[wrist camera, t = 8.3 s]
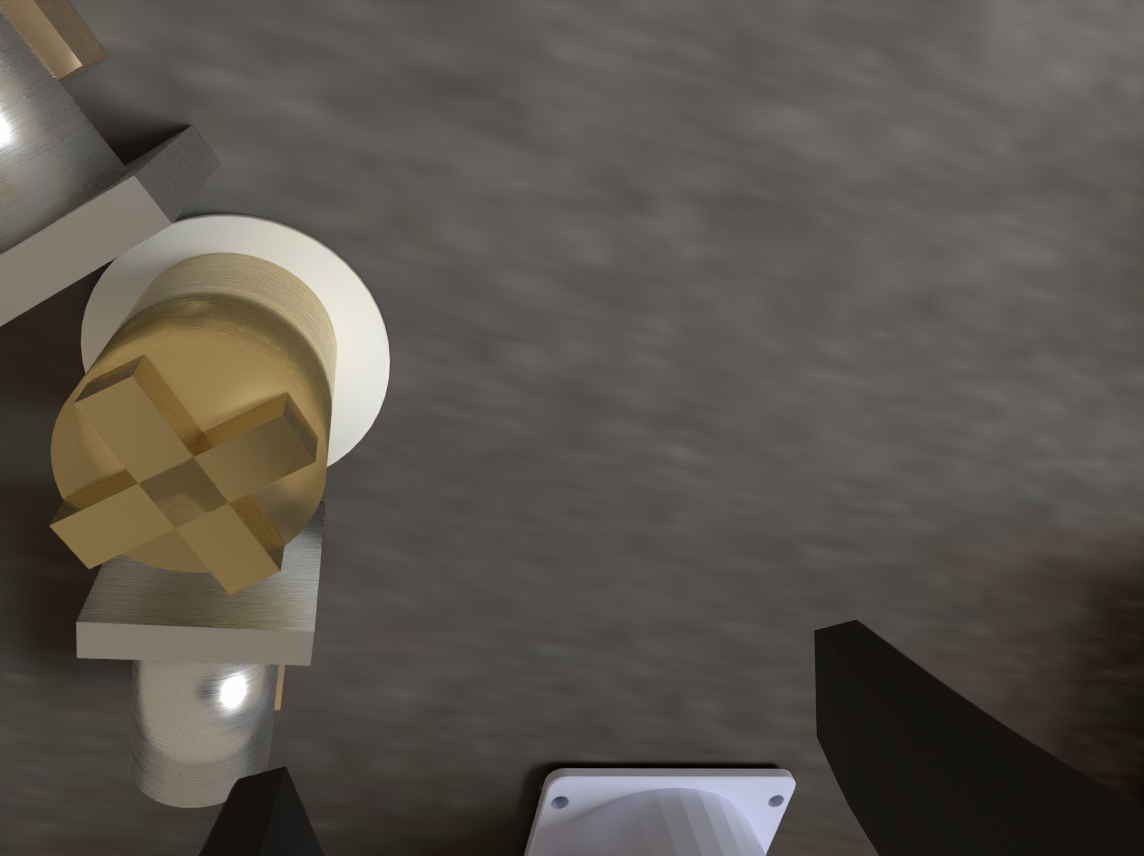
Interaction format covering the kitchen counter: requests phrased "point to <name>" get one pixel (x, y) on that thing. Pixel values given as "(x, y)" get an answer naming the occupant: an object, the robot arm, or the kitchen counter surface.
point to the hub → (201, 424)
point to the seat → (293, 250)
